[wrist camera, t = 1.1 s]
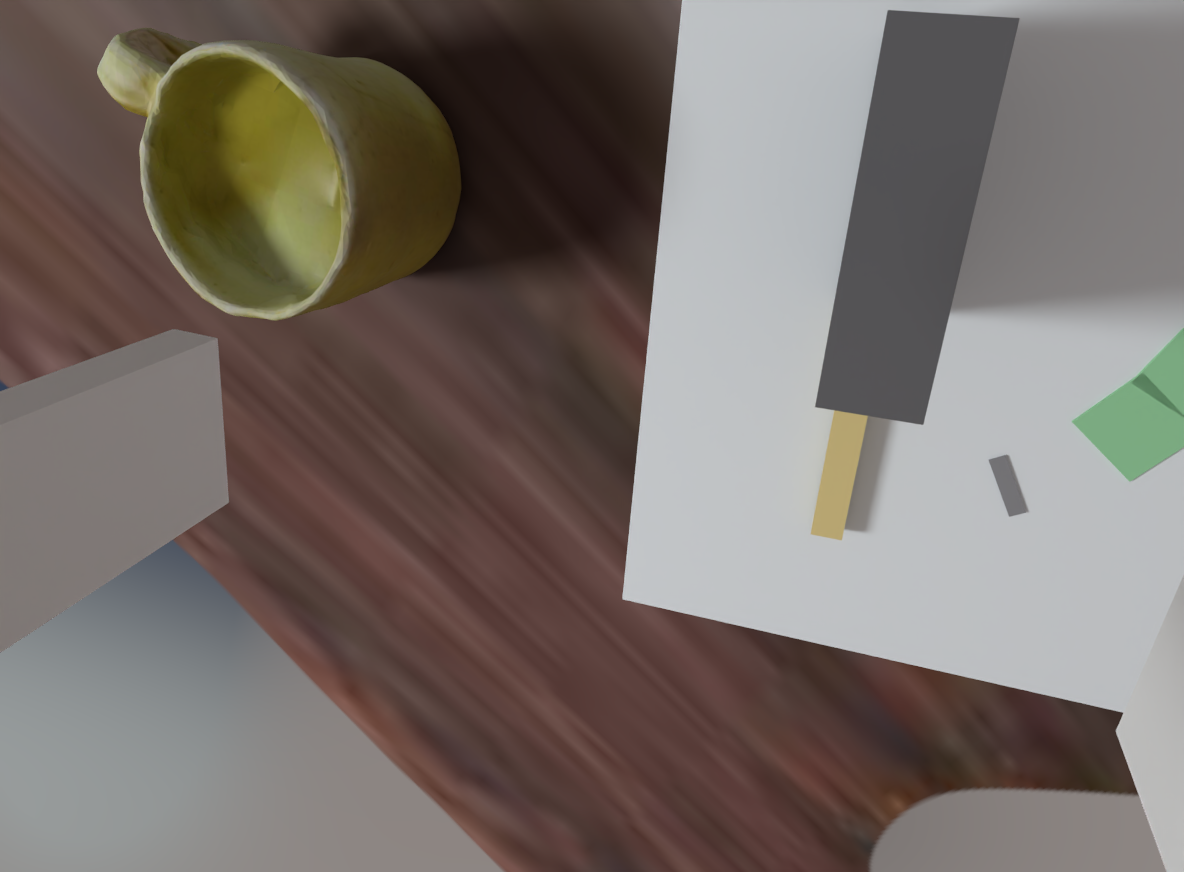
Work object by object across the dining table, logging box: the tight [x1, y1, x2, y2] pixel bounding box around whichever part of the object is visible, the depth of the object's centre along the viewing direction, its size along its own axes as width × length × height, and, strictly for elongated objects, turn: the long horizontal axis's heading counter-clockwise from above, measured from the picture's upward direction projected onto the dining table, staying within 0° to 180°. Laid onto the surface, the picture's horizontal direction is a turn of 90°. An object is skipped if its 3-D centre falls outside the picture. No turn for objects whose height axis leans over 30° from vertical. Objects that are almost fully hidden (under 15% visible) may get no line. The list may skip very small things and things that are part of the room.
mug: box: [97, 28, 461, 320], centre depth 33 cm, size 12×10×10 cm
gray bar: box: [811, 10, 1020, 540], centre depth 27 cm, size 18×3×11 cm, turn 176°
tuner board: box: [623, 0, 1184, 713], centre depth 32 cm, size 28×22×1 cm
